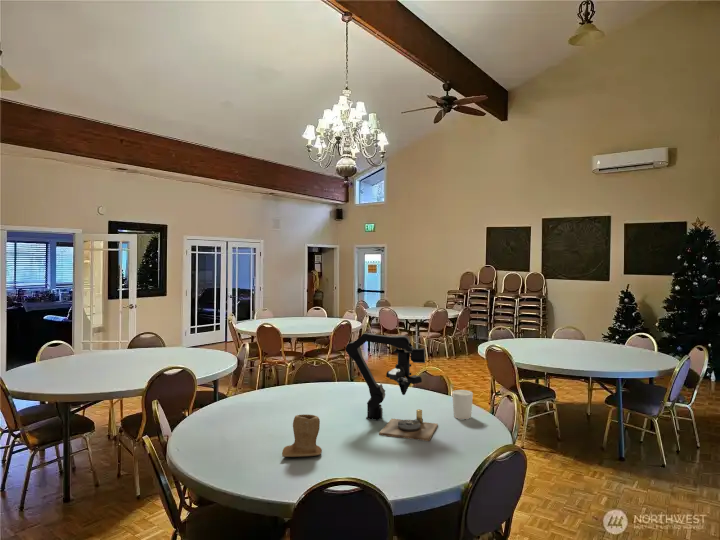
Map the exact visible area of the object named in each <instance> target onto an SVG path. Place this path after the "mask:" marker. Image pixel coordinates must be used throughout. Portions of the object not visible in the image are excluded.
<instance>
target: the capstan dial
mask: <svg viewBox="0 0 720 540" xmlns="http://www.w3.org/2000/svg"><path fill="white" fill-rule="evenodd" d="M415 411H416V418H415V419H401V421H399V422H398V428H399V429H400V430H402V431H407V432H414V431H418V430H420V425H421V424H422V423H423V422H424V418H423V409H416V410H415Z"/></svg>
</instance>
